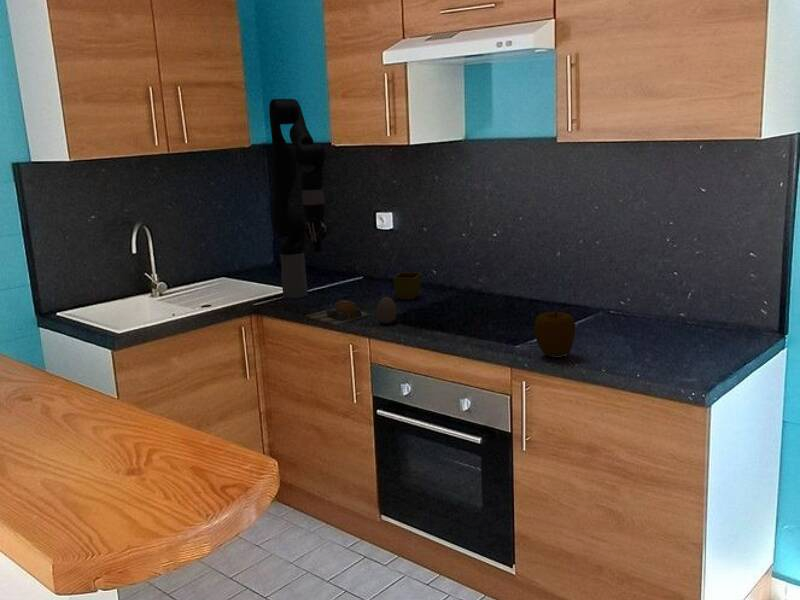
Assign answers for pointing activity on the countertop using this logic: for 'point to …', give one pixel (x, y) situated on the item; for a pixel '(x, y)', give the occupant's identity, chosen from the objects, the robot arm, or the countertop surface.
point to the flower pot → (407, 285)
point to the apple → (555, 333)
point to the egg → (386, 310)
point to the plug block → (345, 307)
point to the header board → (338, 316)
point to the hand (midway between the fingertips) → (317, 251)
